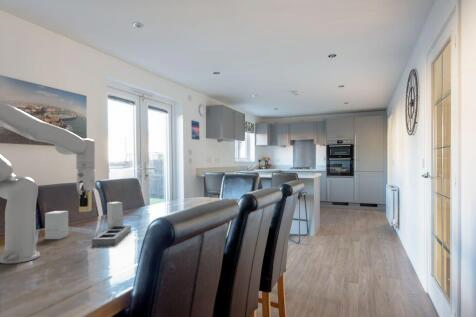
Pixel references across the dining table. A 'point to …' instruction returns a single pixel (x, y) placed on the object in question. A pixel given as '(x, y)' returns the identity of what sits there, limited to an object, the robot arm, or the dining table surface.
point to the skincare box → (114, 214)
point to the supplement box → (56, 225)
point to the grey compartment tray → (111, 236)
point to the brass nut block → (89, 203)
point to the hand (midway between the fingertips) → (85, 205)
